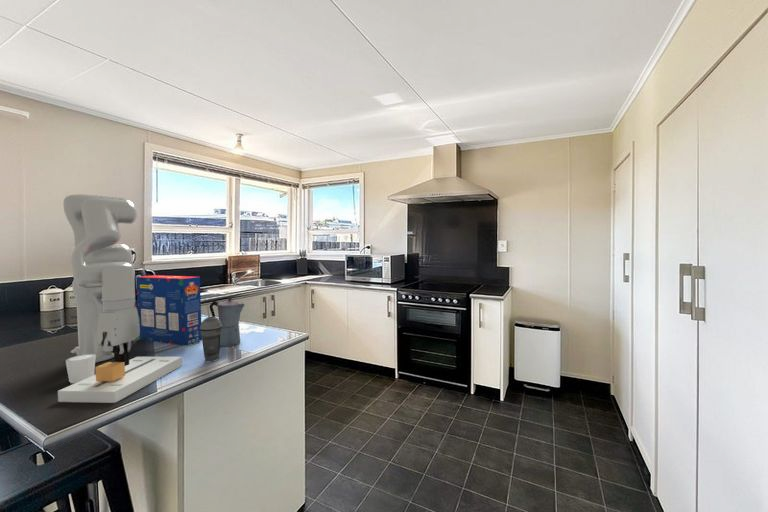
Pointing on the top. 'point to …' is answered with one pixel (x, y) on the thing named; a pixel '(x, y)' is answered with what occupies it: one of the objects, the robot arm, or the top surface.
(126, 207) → the robot arm
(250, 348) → the top surface
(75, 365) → the white tapered cup
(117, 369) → the fader knob
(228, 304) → the moka pot
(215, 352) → the beverage cup
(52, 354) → the top surface
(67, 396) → the slide fader track
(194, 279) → the blue box
